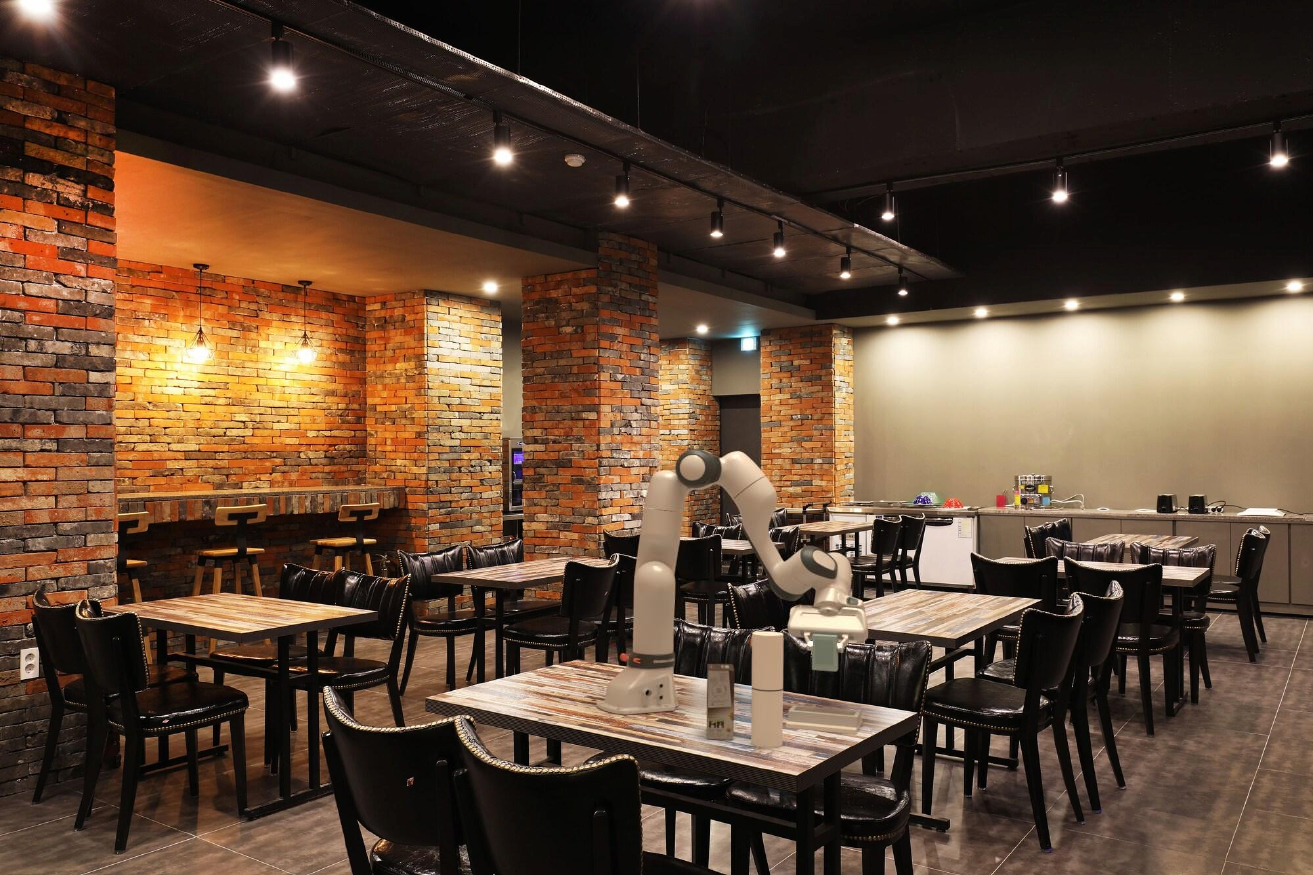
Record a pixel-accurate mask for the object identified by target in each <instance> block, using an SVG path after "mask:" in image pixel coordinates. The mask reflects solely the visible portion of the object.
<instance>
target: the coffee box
mask: <svg viewBox="0 0 1313 875" xmlns="http://www.w3.org/2000/svg"><path fill="white" fill-rule="evenodd" d="M706 672H707V673H706V739H707V740H726V741H727V740H731V741H733V740H734V735H735V734H734V732H735V731H734V724H735V722H734V721H735V719H734V718H735V668H734V664H733V663H732V664H731V663H708V664H707V671H706Z"/></svg>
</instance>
